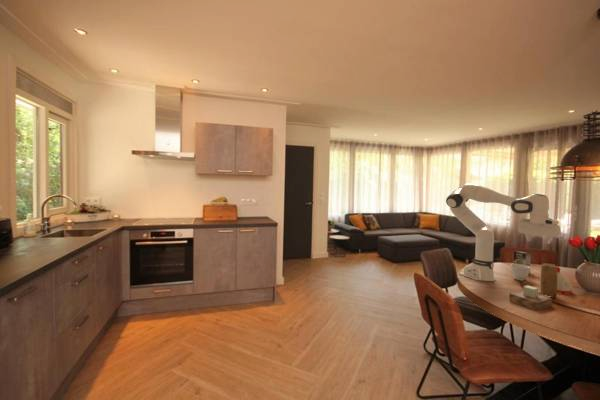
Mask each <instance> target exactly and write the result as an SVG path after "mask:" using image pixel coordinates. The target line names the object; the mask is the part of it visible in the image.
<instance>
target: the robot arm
mask: <svg viewBox="0 0 600 400" xmlns="http://www.w3.org/2000/svg"><path fill="white" fill-rule="evenodd" d="M469 199H470V200H473V201H476V202H480V203H484V204H489V203H491V204H492V203H494V204H502V205H505V206H509V207H510V209H511V211H512V212H513V213H515V214H519V215H525V214H529V218H528V219H527V218H520V219H519V220H518V229H517V231H518V233H519V234H524V236H525V238H526V241H527V242H531V240H532V237H529V236H530V235H534V236H543V237H548V239H547V240H545V244H548V245H550V243H551V241H552V240H553V238H560V237H561V236H562V231H561V226H560V225H559V224H560V221H559V220H557V219H555V218H551V217H549V209H550V201H549V197H548V196H547V195H545V194H541V193H532V194H530V195H528V196H525V197H522V198H519V197H513V196H509V195H507V194H504V193H503V194H502V193H500V192H498V191H495V190H493V189H491V188H488V187H485V186H482V185H479V184H475V183H465V184H463V186H461V187H458V188H457V189H455V190H454V191H451V193H450V194H449V195H448V196H447V197H446V199H445V203H446V205H447V206H448V207H449V208H450V211H451V213H452V215H454V217H455V218H456V219H457V220H458V221H459V222H460V223H462V225H464V227H465V228H467V229H468V230H469V231H470V232H472V233H473V234H474V235H475V249H474V250H475V253H474V254H475V256H474V258H472V259H471V263H469V264H468V265H465V266H464V268H463V270H462V271H460V273H459V275H461V276H463V277H466V278H470V279H472V280H475V281H482V282H495V281H496V278H495V277H496V276H495V274H494V268H495V267H494V265H495V262H494V246H495V245H494V243H495V232H494V231H493V230H492V228H491V227H490V226H488V224H486V223H485V221H484V220H482V219H481V218H480V217H479V216H477V215H476V213H474V212H473V210H471V209H470V208H469V207H468V206H467V205H466V203H467V202H468V201H469Z"/></svg>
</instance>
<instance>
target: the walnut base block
mask: <svg viewBox="0 0 600 400" xmlns="http://www.w3.org/2000/svg"><path fill="white" fill-rule="evenodd" d="M552 299H553V298H549V297H545V296H542V295H541V294H539V293H538V297H535V298H532V297H528V296H525V295H523V289H522V290H519V291H514V292H511V293H509V302H511V303H514V304H518V305H520V306H522V307H525V308H529V309H532V310H534V311H541V310H544V309H546V308H547V309H548V308H549V307H550V308H551V307H552V303H553V302H552Z"/></svg>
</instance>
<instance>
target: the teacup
mask: <svg viewBox="0 0 600 400" xmlns="http://www.w3.org/2000/svg"><path fill="white" fill-rule="evenodd" d="M509 265H510V267H511V268H510V269H511V274H512V276H513V277H514V279H515V280H517V281H525V280H526V279H527V278H528V276H529V274H530V273H529V269H530V270H531V269H532V268H531V266H530V267H529V266H526V265H521V264H514V262H513V263H511V264H509Z"/></svg>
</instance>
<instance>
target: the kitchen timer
mask: <svg viewBox="0 0 600 400" xmlns="http://www.w3.org/2000/svg"><path fill="white" fill-rule="evenodd" d="M571 285H572V284H571V281H570V280H568V279H567V278H566V276H565V275H564V274H563V273H561V268H560V266H557V292H561V293H560V294H564V293H568V294H571V293H572V288H571V287H572V286H571Z"/></svg>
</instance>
